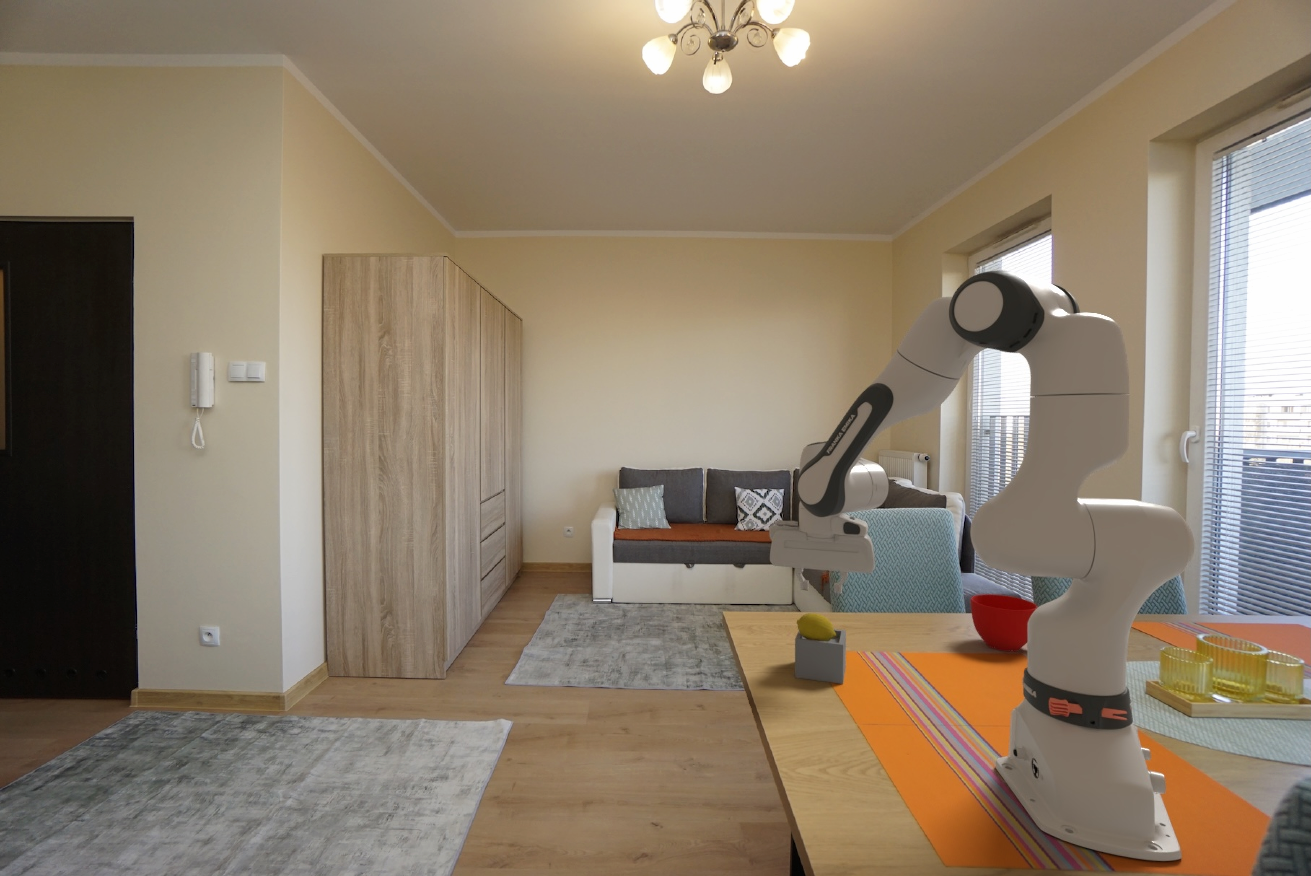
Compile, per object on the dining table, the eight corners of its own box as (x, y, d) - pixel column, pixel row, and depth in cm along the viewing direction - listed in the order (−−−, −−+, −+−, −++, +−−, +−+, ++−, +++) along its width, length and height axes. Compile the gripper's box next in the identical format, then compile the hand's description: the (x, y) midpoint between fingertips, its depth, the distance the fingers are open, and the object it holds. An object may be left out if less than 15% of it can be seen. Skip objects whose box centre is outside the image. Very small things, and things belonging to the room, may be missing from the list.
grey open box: (843, 684, 114) (843, 644, 114) (794, 677, 117) (795, 639, 117) (845, 666, 123) (845, 630, 123) (800, 661, 126) (800, 625, 126)
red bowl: (1066, 662, 125) (1066, 614, 125) (976, 652, 131) (976, 607, 131) (1047, 642, 138) (1048, 598, 138) (966, 634, 143) (966, 592, 143)
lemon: (840, 616, 120) (801, 602, 121) (841, 634, 115) (801, 620, 116) (830, 636, 122) (792, 622, 123) (831, 655, 118) (791, 640, 118)
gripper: (766, 521, 121) (766, 590, 121) (874, 527, 113) (874, 600, 113) (772, 517, 126) (771, 582, 127) (875, 523, 119) (874, 592, 119)
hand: (821, 591), depth 120 cm, fingers open, 5 cm apart
